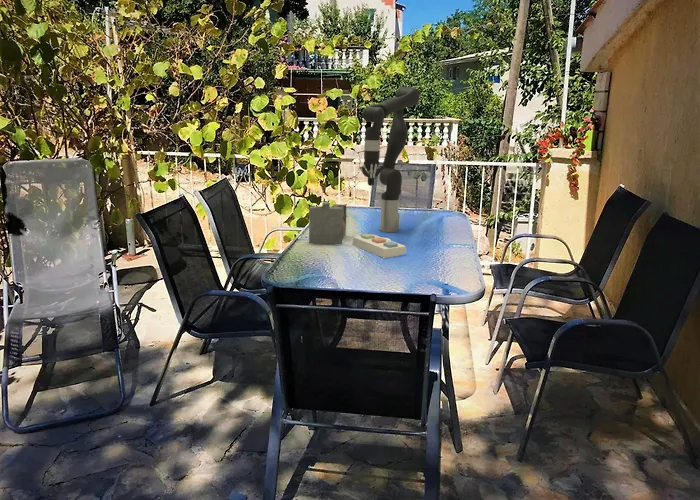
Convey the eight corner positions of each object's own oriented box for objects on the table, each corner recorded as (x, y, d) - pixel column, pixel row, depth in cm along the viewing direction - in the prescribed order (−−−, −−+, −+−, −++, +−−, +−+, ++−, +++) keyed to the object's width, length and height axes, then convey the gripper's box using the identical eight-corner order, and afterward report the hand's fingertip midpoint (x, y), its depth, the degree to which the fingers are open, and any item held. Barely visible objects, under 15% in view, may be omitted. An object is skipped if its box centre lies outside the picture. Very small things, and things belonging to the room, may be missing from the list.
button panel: (373, 242, 263) (373, 234, 262) (405, 254, 243) (406, 246, 242) (352, 245, 257) (352, 236, 256) (384, 258, 236) (384, 249, 235)
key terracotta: (379, 243, 252) (380, 237, 252) (385, 245, 249) (385, 239, 248) (371, 244, 250) (372, 238, 249) (377, 246, 246) (377, 240, 245)
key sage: (368, 239, 260) (369, 233, 259) (374, 241, 256) (374, 235, 255) (360, 240, 257) (361, 234, 256) (366, 242, 253) (366, 236, 253)
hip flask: (341, 242, 261) (342, 202, 256) (342, 244, 257) (343, 203, 252) (309, 242, 260) (309, 201, 255) (308, 244, 256) (309, 202, 251)
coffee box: (333, 234, 276) (334, 203, 272) (346, 235, 275) (346, 204, 271) (329, 238, 268) (330, 207, 264) (342, 239, 267) (343, 207, 262)
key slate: (391, 247, 245) (391, 241, 244) (397, 250, 241) (397, 244, 241) (383, 248, 243) (383, 242, 242) (389, 251, 239) (389, 245, 238)
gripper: (378, 148, 265) (377, 183, 269) (356, 149, 258) (355, 185, 262) (387, 150, 259) (386, 185, 263) (365, 150, 252) (363, 187, 256)
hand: (370, 185), depth 263 cm, fingers closed
